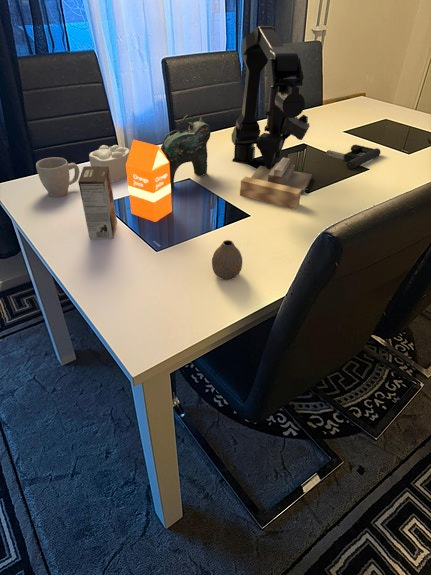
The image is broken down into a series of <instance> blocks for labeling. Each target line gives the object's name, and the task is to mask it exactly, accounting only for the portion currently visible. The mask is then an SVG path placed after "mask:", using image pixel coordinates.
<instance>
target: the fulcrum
mask: <svg viewBox="0 0 431 575" xmlns="http://www.w3.org/2000/svg"><path fill="white" fill-rule="evenodd" d="M290 162H291V158H289V157H285V156H284V157H282V158H280V161H279V162H276V163H275V164H274V166H272V167H271V169H270V170H269V169H267V168H266V165H264V166H263V165H259V166H258V167H257V169H256V170H255V171H254V173H253V174H252V175H251V177H250V178H254V179H259V180H263V181H267V182H272V183H276V184H280V185H285V186H289V187H293V188H298V189H302V190H301V195H304V194H305V192H306V190H307V189H308V186H309V185H310V182H311V180H312V177H313V174H312V173H309V172H308V173H307V172H300V171H296V170H295V166H296V165H295V164H291V163H290Z"/></svg>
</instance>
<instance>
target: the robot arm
mask: <svg viewBox="0 0 431 575" xmlns="http://www.w3.org/2000/svg"><path fill="white" fill-rule="evenodd" d="M240 51H241V56H242V60H243V62H244V64H245V67H246V72H245V78H244V89H243V100H242V101H243V102H242V109H241V114H240V115H239V116H238V117H237V119H236V122H235V126H234V127H233V131H232V132H231V142H232V144H233V145H234V154H233V155H234V157H233V158H232V162H236V163H244V164H251V162H252V161H253V160H255V158H256V157H255V154H256V148H257V149H258V150H259V152H260V155H261V157H262V160H263V163H264V166H265V167H266V168H267V169H269V170H270V169H271V167H272V168H273V164H274V161H275V160H274V159H275V158H276V159H279V158H280V156H281V153H282V149H284V148H283V147H284V144H285V142H286V140H287V139H288V138H289V137H290V136H293V137H294V138H296V139H297V140H299V141H303V139H304V137H305V136H306V134H307V133H308V130H309V128H310V123H309V121H308V120H309V117H308V116H307V115H305V114H302V113H303V111H304V109H305V107H306V102H305V98H304V96H303V95H302V94H301V92H300V87H302V86H303V85H304V84H303V81H304V73H303V67H302V66H303V65H302V61H301V57H299V54H298V53H297V52H296V51H295V50H294V49H292V48H288V47H286V46H284V44H283V41H281V39H280V38H279V36H278V35H277V33H276V29H275V27H274V26H272V25H258V26H257V27H255V28H254V30H253V31H252V32H250V33H248V34H246V35H245V36H244V38H243V40H242V42H241V50H240ZM265 67H266V70H267V75H268V79H269V84H270V87H269V94H268V95H269V97H268V108H267V109H266V112H265V116H267V118H266V124H265V126H264V132H263V133H262V134H261V130H260V128H261V127H260V124H259V122H258V120H257V116H256V114H257V108H258V100H259V93H260V85H261V84H260V83H261V77H262V72H263V70H264V68H265ZM301 114H302V115H301ZM299 115H300V116H299ZM298 116H299V117H298ZM255 146H256V147H255Z"/></svg>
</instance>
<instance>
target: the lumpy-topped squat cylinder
mask: <svg viewBox="0 0 431 575" xmlns="http://www.w3.org/2000/svg"><path fill="white" fill-rule="evenodd" d="M129 153H130V149H129V148H127V147H124V146H120V145H117V144H114V145H112V146H108V145H105V144H103V145H100V146H99V148H98V149H97V150H94V151H92V152H89V154H88V158H89V163H90V165H89V166H100V167H109V173H110V180H111V183H112V182H116V181H117V182H118V181H120V180H122V179H125V178H126V179H127V171H126V163H127V160H128V156H129Z"/></svg>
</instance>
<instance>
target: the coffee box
mask: <svg viewBox="0 0 431 575" xmlns="http://www.w3.org/2000/svg"><path fill="white" fill-rule="evenodd" d="M80 172H81V173H80V174H79V177H78V180H77V181H78V187H79V188H78V189H79V193H80V196H81V197H80V198H81V202H82V207H83V212H84V218H85V222H86V227H87V232H88V238H89V240H113V239H115V234H116V229H117V228H116V227H117V224H118V219H117V213H116V212H117V211H116V207H115V200H114V193H113V187H112V182H111V180H110V173H109V167H100V166H91V165H89V166H88V165H87V166H85V165H84V166H83V167H82V170H81V171H80Z"/></svg>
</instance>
